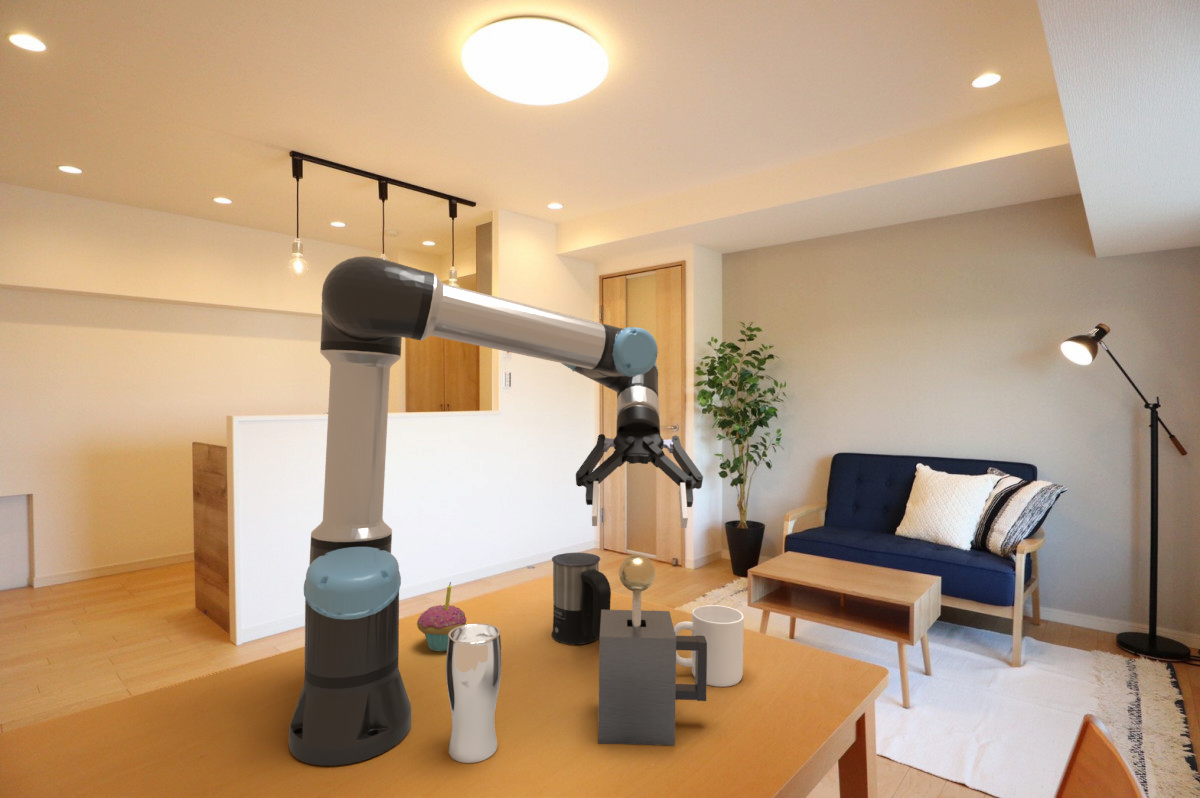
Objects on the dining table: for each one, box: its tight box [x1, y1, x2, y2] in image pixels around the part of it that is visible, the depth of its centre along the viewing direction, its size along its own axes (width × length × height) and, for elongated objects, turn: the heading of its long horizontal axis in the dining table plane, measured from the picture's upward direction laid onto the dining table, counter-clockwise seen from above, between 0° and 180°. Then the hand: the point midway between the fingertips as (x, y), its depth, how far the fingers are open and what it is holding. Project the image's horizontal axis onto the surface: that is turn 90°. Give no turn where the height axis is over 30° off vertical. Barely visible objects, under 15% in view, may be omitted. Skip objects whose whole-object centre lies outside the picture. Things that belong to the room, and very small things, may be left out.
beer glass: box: [445, 622, 503, 764], centre depth 77 cm, size 7×7×15 cm
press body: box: [597, 609, 707, 746], centre depth 84 cm, size 15×10×14 cm
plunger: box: [618, 553, 656, 627], centre depth 84 cm, size 8×8×22 cm
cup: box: [673, 604, 745, 688], centre depth 99 cm, size 8×12×10 cm
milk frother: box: [550, 552, 612, 645], centre depth 115 cm, size 14×16×15 cm
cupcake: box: [416, 581, 467, 652], centre depth 109 cm, size 9×8×12 cm
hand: (639, 522), depth 91 cm, fingers open, 13 cm apart
